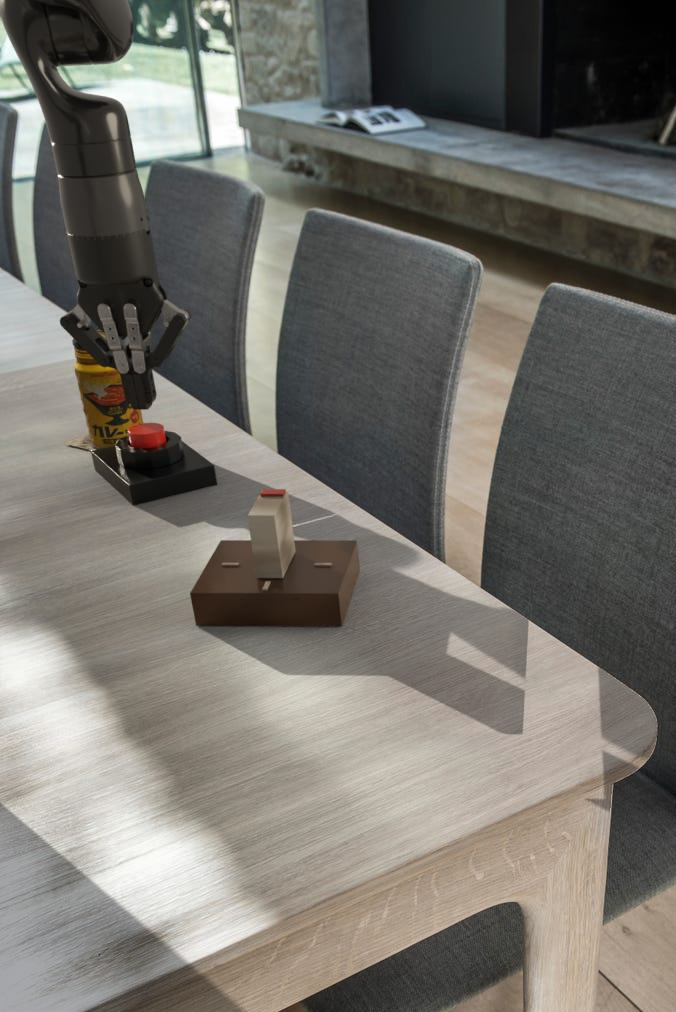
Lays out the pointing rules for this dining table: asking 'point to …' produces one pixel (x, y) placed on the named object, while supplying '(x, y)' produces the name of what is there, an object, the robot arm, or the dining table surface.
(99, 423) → the condiment
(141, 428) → the button
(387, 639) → the dining table surface
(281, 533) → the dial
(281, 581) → the brown flat block
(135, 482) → the button box
